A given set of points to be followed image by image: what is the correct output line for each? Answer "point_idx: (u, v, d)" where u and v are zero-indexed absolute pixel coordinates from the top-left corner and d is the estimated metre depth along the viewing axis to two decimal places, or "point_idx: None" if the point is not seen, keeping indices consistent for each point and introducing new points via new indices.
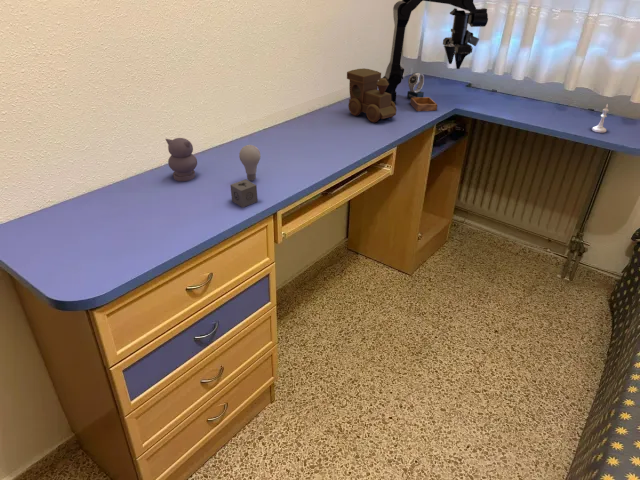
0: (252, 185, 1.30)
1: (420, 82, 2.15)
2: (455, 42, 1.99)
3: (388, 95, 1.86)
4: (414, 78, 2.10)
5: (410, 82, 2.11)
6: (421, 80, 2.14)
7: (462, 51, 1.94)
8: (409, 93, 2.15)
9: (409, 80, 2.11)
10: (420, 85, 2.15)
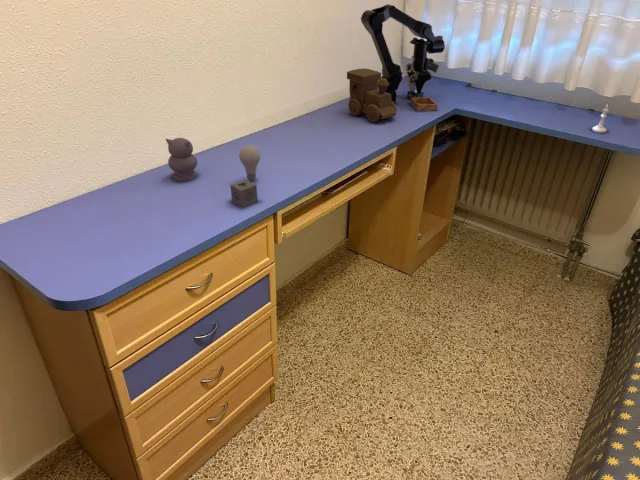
0: (252, 185, 1.30)
1: None
2: (415, 69, 2.07)
3: (388, 95, 1.86)
4: None
5: (410, 82, 2.11)
6: None
7: (421, 78, 2.02)
8: (409, 93, 2.15)
9: (409, 80, 2.11)
10: None
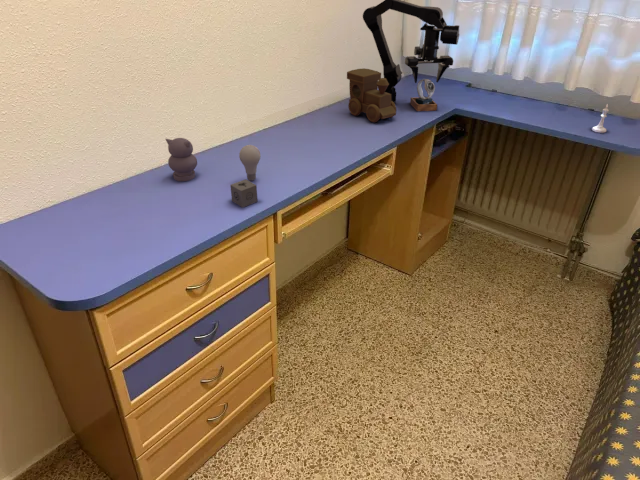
0: (252, 185, 1.30)
1: (419, 88, 2.05)
2: None
3: (388, 95, 1.86)
4: (430, 84, 2.00)
5: (430, 89, 1.99)
6: (419, 86, 2.04)
7: None
8: (424, 102, 2.02)
9: (428, 88, 1.99)
10: (421, 91, 2.05)
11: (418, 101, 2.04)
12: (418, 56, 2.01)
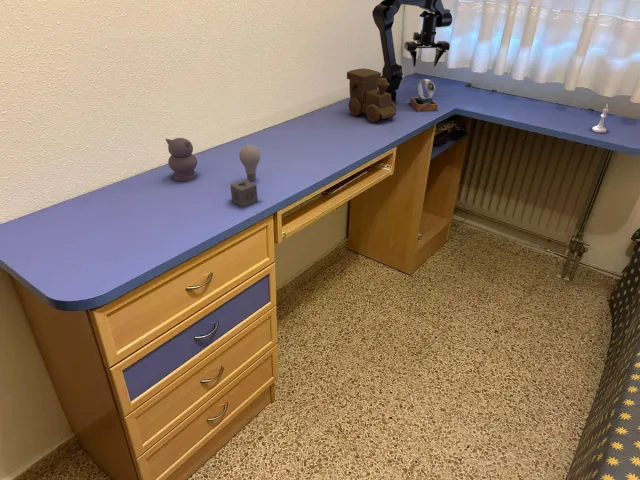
0: (252, 185, 1.30)
1: (419, 88, 2.04)
2: None
3: (388, 95, 1.86)
4: (431, 84, 2.00)
5: (430, 90, 1.99)
6: (420, 86, 2.04)
7: None
8: (424, 102, 2.02)
9: (428, 88, 1.99)
10: (421, 91, 2.05)
11: (418, 101, 2.04)
12: (417, 41, 2.13)
